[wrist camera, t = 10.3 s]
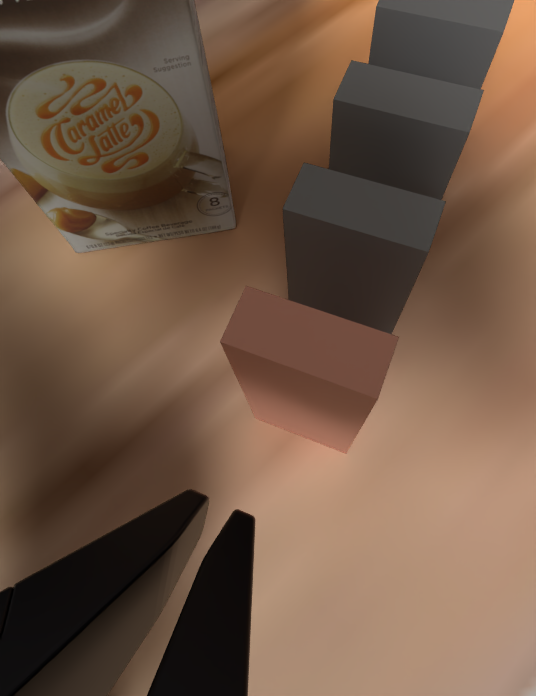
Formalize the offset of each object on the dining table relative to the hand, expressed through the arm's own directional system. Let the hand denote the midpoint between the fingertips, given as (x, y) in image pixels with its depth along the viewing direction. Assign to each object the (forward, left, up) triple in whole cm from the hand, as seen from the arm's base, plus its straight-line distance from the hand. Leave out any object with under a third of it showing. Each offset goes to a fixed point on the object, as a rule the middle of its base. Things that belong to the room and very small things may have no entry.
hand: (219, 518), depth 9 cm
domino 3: (+5, +8, -13) cm, 16 cm away
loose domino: (+2, +4, -13) cm, 14 cm away
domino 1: (+9, +16, -13) cm, 22 cm away
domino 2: (+7, +12, -13) cm, 19 cm away
